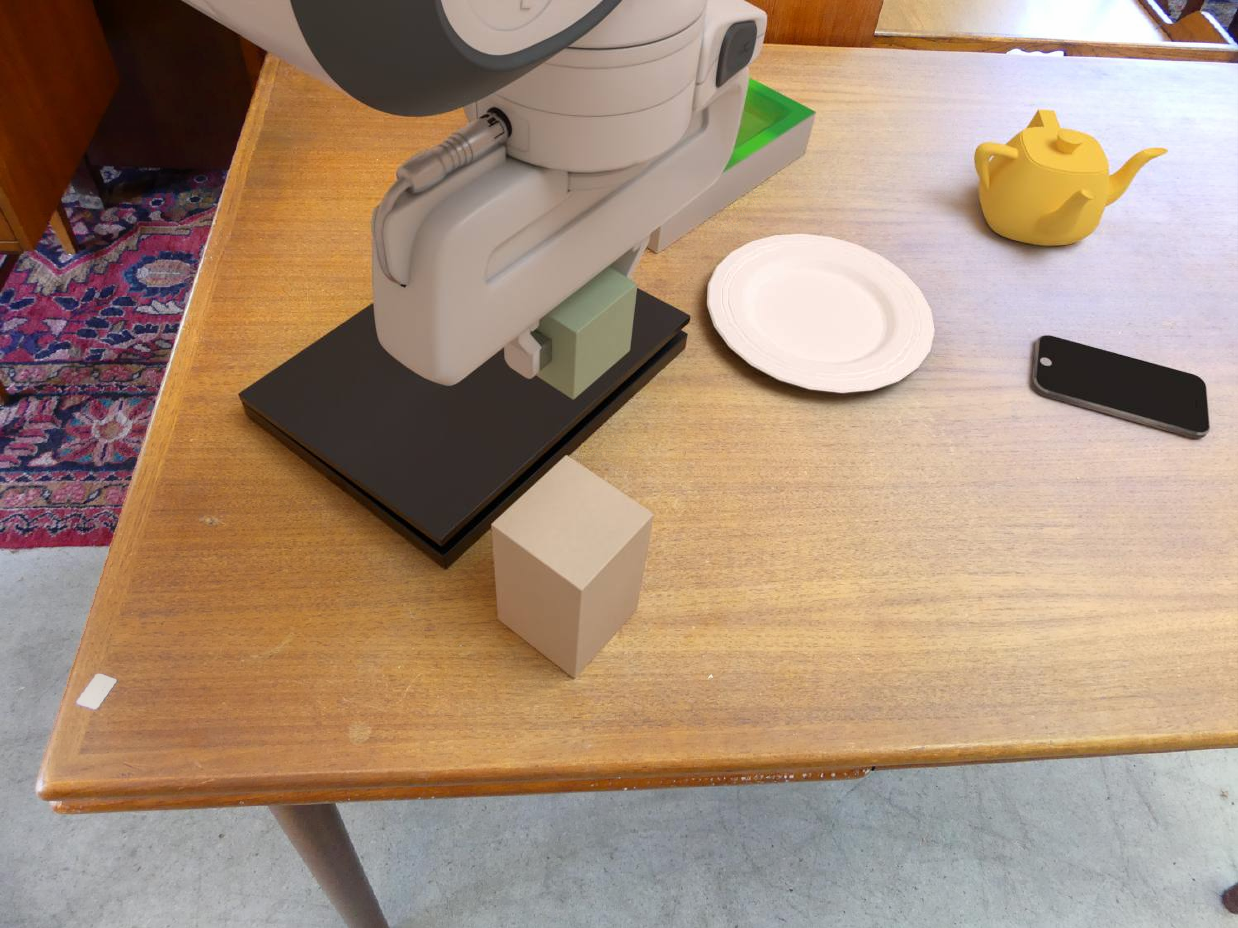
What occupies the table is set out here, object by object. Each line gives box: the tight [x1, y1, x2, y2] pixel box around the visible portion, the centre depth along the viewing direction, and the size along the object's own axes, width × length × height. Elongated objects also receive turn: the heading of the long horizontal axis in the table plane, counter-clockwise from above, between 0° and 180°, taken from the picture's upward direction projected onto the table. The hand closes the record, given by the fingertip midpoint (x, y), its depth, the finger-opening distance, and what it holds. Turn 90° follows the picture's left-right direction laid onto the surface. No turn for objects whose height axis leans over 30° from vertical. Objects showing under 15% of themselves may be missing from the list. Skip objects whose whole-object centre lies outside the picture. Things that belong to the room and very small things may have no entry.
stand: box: [490, 455, 655, 679], centre depth 60 cm, size 7×7×12 cm
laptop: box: [241, 329, 689, 570], centre depth 77 cm, size 22×30×2 cm
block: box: [536, 267, 638, 399], centre depth 44 cm, size 4×4×4 cm
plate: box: [706, 233, 936, 395], centre depth 84 cm, size 21×21×2 cm
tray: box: [646, 76, 817, 255], centre depth 98 cm, size 25×25×5 cm
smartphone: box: [1031, 334, 1210, 439], centre depth 82 cm, size 8×1×15 cm
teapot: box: [973, 109, 1169, 247], centre depth 93 cm, size 14×13×10 cm
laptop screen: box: [237, 287, 691, 546], centre depth 75 cm, size 22×30×1 cm
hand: (568, 332), depth 45 cm, fingers closed on block, 4 cm apart
